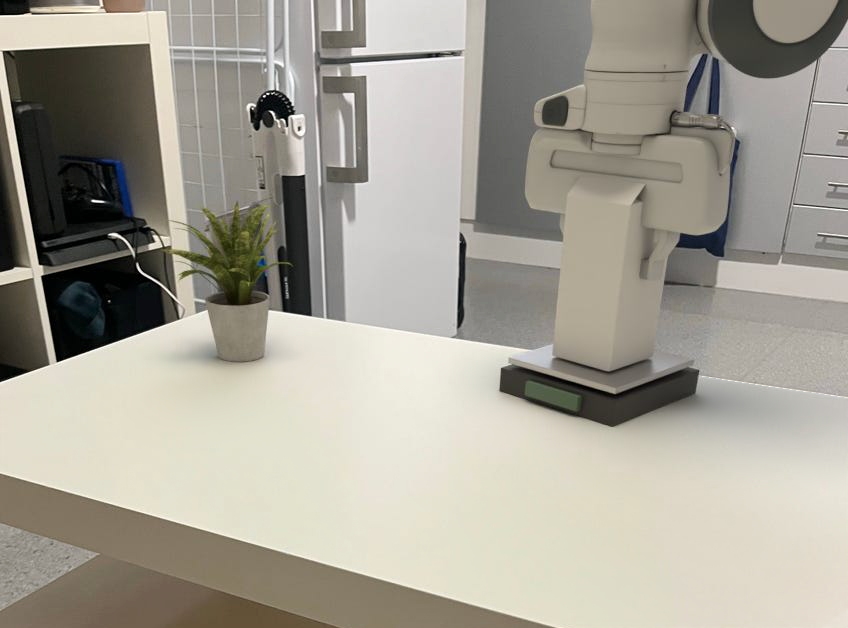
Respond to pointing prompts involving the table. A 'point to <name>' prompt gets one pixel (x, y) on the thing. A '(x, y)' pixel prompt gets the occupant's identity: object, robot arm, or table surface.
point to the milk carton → (606, 278)
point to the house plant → (235, 284)
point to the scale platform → (599, 378)
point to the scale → (598, 394)
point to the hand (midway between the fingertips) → (612, 271)
